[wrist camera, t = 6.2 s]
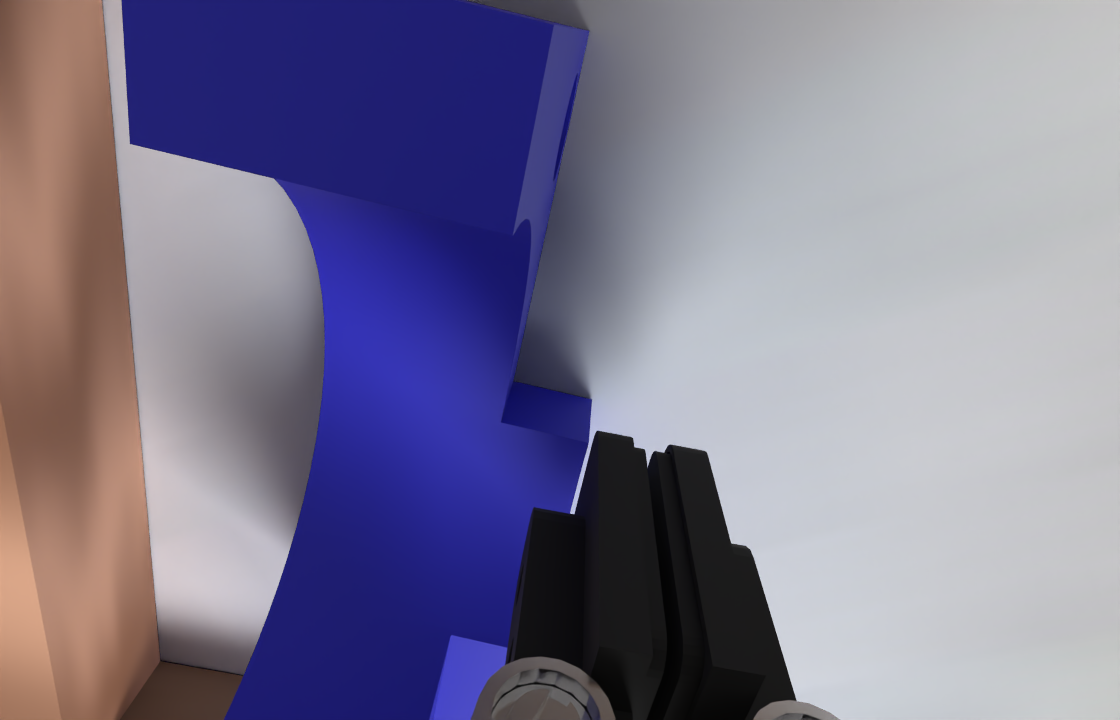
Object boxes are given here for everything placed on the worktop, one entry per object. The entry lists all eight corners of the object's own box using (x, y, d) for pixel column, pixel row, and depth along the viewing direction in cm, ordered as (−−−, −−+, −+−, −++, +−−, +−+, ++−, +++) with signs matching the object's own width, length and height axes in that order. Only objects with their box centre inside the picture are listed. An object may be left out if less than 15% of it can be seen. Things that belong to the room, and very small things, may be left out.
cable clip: (528, 625, 15) (478, 947, 10) (332, 581, 15) (173, 882, 10) (688, 55, 10) (767, 77, 5) (390, -19, 10) (116, -84, 5)
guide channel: (-121, -549, 8) (-507, -861, 5) (1274, -201, 8) (1592, -309, 6) (83, 690, 17) (-13, 815, 14) (741, 805, 18) (767, 945, 15)
